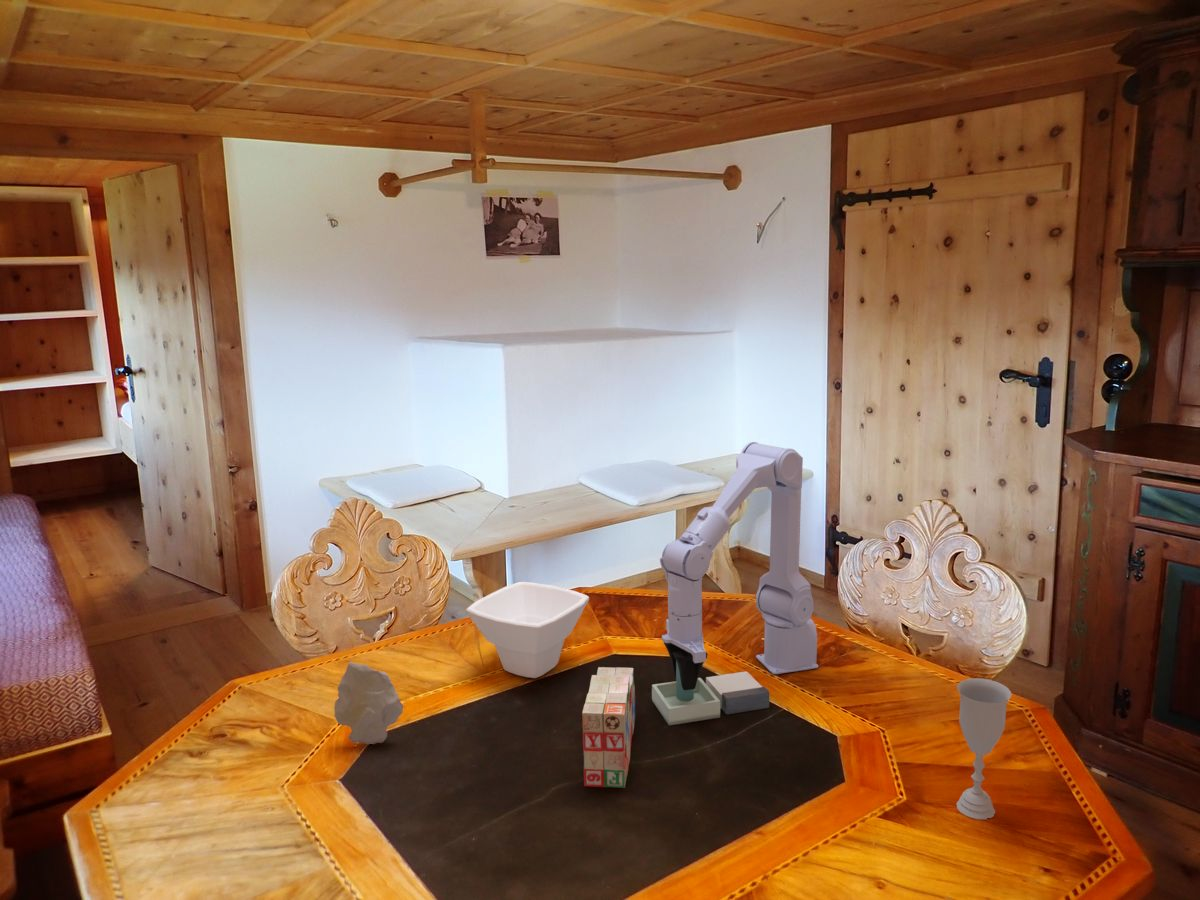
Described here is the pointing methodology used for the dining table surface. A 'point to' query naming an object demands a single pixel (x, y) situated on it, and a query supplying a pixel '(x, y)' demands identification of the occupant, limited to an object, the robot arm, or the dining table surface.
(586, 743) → the stack of blocks
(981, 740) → the chalice
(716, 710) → the tray
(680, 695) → the dowel
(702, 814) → the dining table surface
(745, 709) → the bench dog
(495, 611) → the bowl
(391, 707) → the stone tool
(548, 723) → the dining table surface
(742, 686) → the pale grey box
